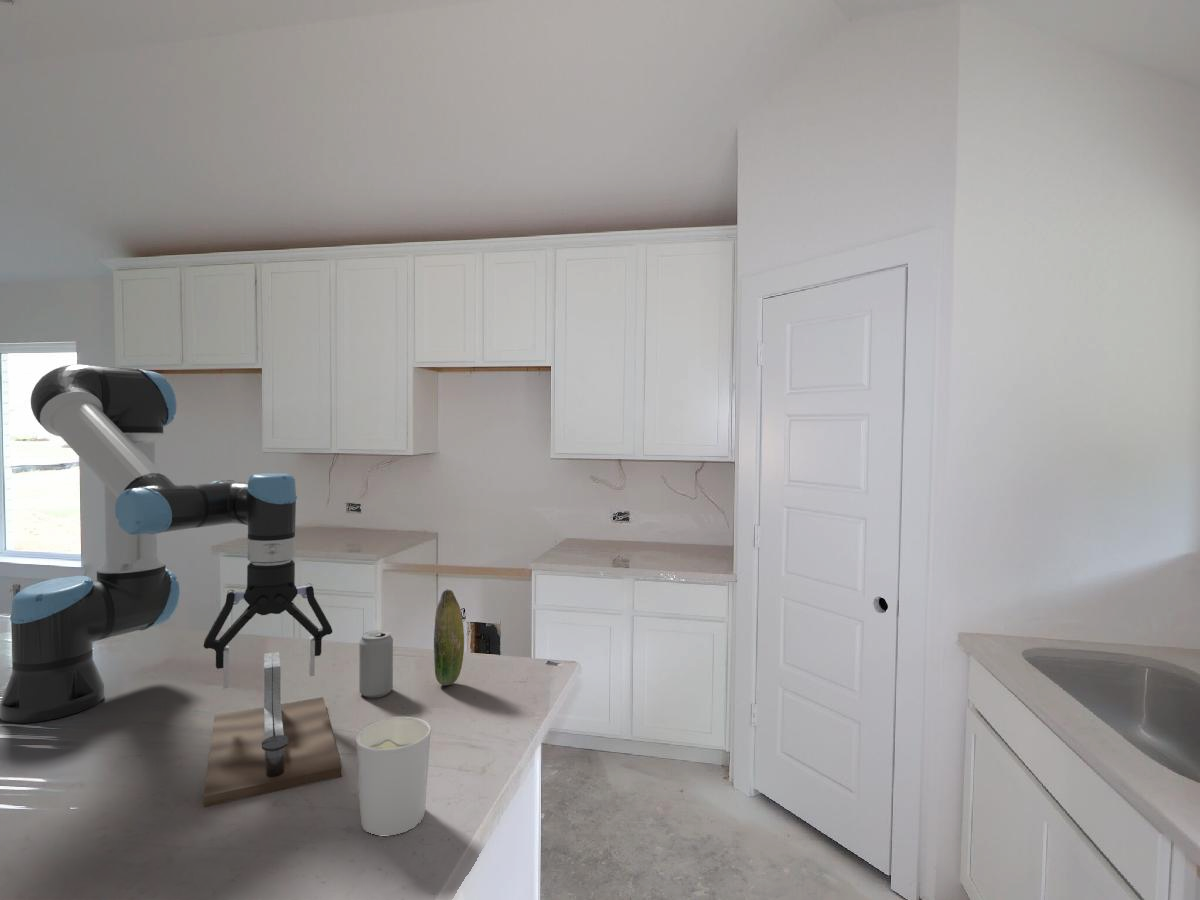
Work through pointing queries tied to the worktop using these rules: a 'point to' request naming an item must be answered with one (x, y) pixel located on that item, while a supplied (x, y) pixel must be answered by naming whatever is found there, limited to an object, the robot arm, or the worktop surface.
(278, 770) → the tongs hinge post
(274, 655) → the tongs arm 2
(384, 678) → the beverage can
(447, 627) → the vegetable
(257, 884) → the worktop surface
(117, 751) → the worktop surface
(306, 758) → the walnut board
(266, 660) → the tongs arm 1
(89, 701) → the robot arm
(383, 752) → the candle holder
